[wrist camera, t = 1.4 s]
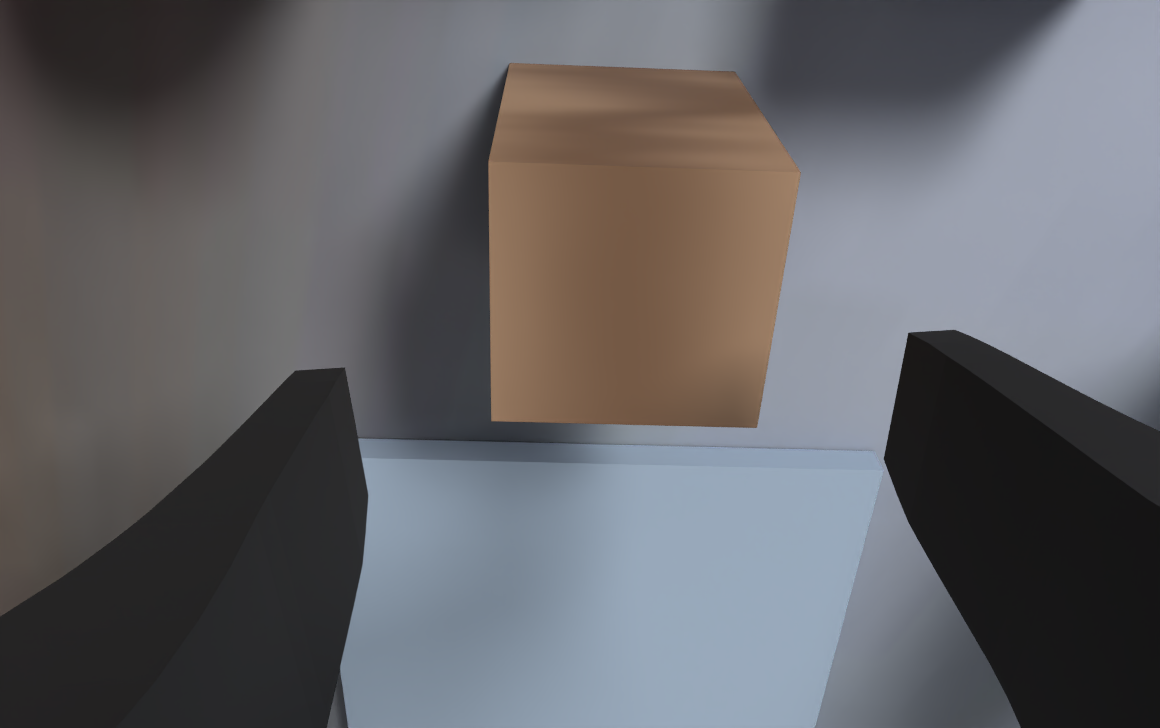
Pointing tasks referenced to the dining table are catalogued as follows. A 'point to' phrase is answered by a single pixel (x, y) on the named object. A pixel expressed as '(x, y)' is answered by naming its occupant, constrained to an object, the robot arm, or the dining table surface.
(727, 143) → the walnut block
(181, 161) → the dining table surface
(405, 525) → the slate mat
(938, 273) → the dining table surface
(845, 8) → the dining table surface
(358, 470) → the robot arm
